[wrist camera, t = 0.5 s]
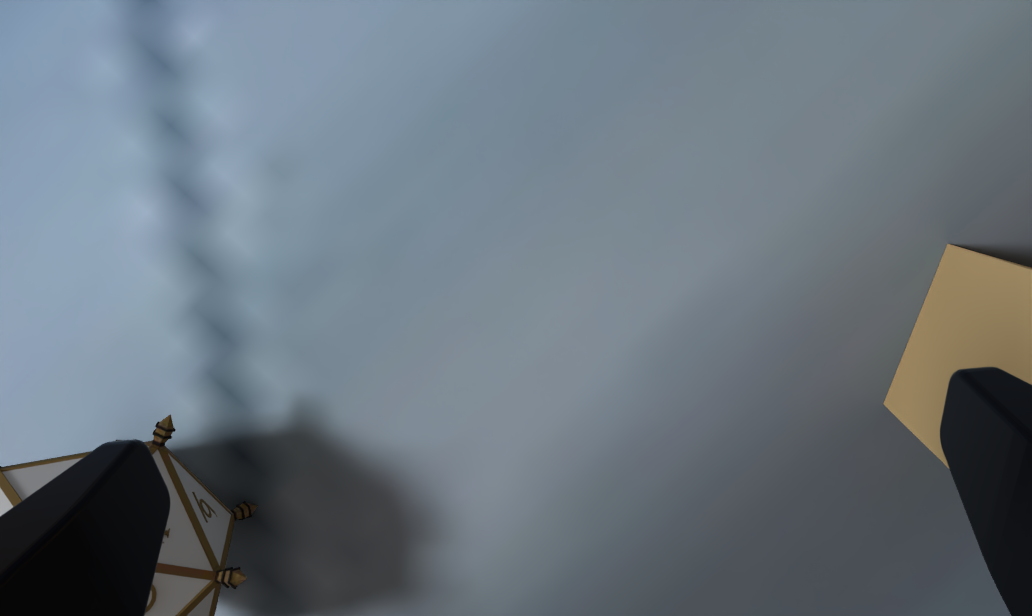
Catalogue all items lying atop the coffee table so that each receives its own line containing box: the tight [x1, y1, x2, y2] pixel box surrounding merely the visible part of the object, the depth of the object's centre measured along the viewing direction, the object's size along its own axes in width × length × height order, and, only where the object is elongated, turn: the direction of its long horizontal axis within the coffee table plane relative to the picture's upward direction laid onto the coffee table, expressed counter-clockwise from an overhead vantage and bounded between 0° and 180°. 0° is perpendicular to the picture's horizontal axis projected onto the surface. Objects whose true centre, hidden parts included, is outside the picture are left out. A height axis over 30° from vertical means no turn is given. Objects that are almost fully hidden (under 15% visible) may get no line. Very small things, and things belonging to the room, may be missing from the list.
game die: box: [0, 414, 258, 616], centre depth 24 cm, size 9×8×10 cm
